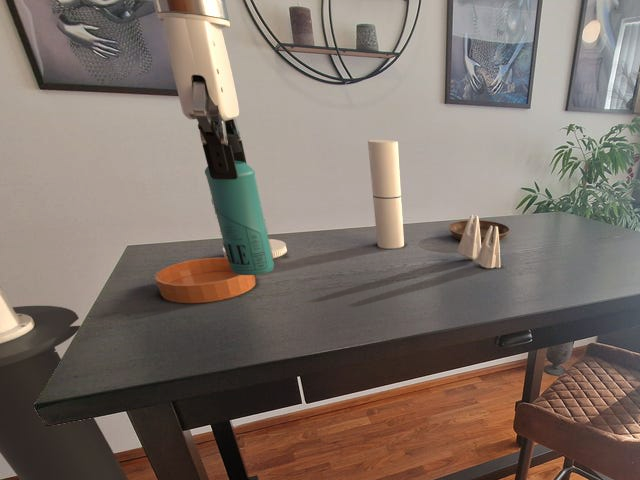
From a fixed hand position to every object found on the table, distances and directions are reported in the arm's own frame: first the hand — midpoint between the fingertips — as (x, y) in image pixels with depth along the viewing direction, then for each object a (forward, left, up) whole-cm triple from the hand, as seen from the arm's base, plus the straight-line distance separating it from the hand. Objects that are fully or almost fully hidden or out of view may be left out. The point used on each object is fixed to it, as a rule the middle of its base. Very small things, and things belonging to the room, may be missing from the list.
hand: (230, 173), depth 61 cm
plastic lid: (-9, +44, -25) cm, 51 cm away
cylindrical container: (+24, +50, -25) cm, 61 cm away
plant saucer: (+50, +54, -25) cm, 78 cm away
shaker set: (+44, +31, -25) cm, 59 cm away
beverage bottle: (0, 0, -15) cm, 15 cm away
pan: (-15, +24, -24) cm, 37 cm away
